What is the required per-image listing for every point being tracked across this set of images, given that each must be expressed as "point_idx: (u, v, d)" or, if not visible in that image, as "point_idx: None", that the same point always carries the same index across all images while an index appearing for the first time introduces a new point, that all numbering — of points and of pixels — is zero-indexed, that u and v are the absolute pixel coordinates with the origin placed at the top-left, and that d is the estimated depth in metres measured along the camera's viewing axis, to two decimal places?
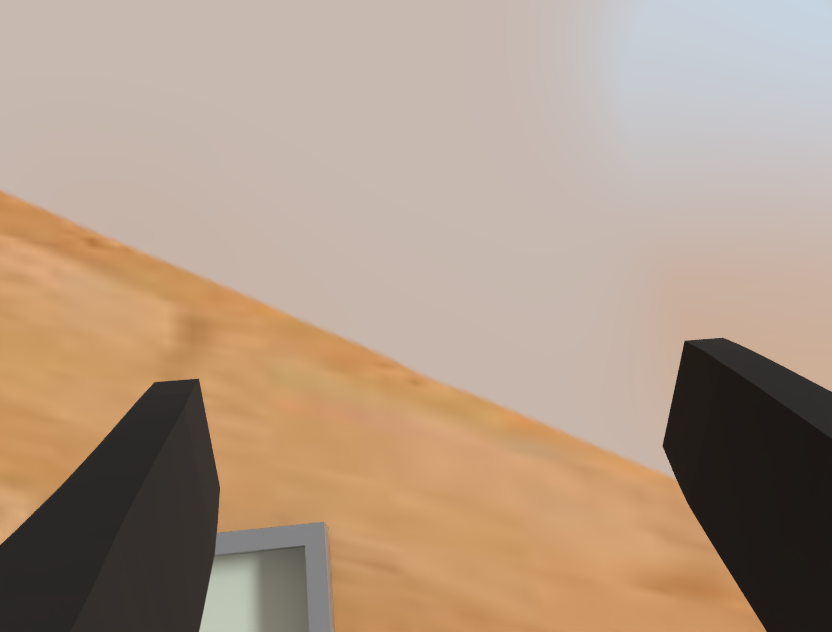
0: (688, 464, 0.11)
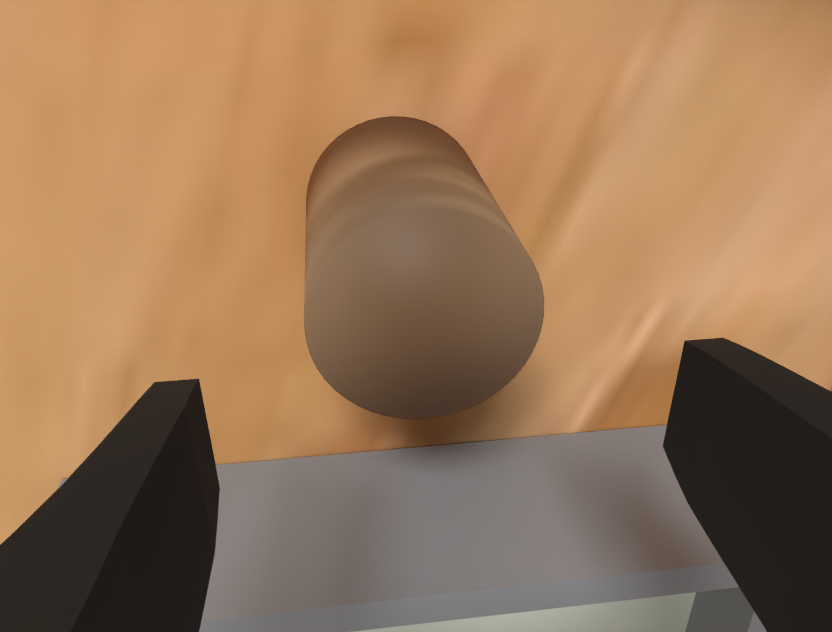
0: (688, 464, 0.11)
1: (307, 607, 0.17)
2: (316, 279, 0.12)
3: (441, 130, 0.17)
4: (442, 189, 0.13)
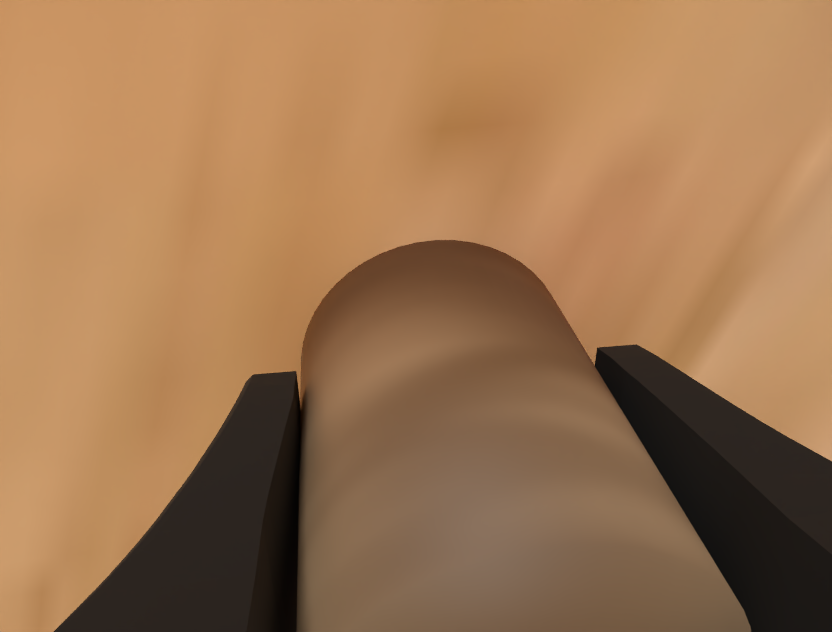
0: None
1: None
2: None
3: (512, 259, 0.11)
4: (561, 457, 0.07)
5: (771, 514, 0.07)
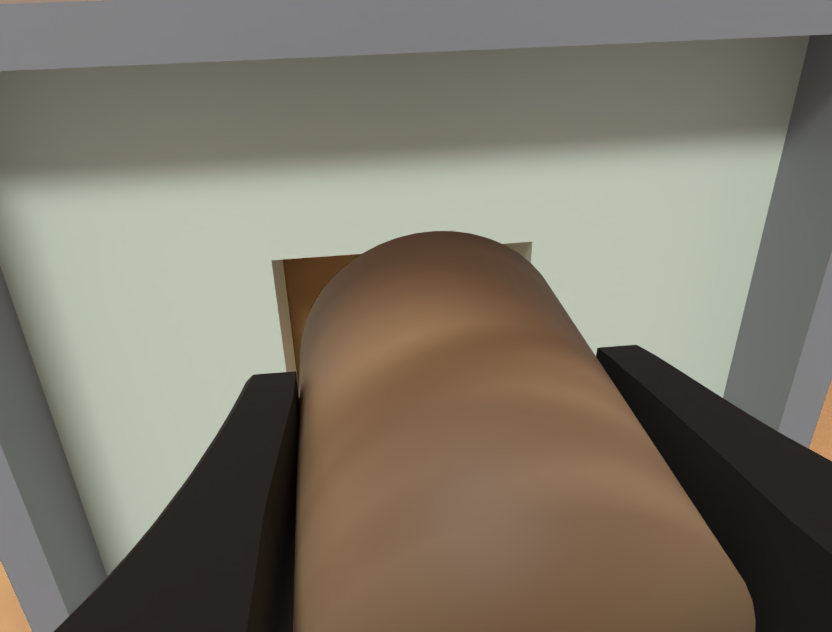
0: None
1: None
2: None
3: (510, 250, 0.11)
4: (560, 430, 0.07)
5: (771, 512, 0.07)
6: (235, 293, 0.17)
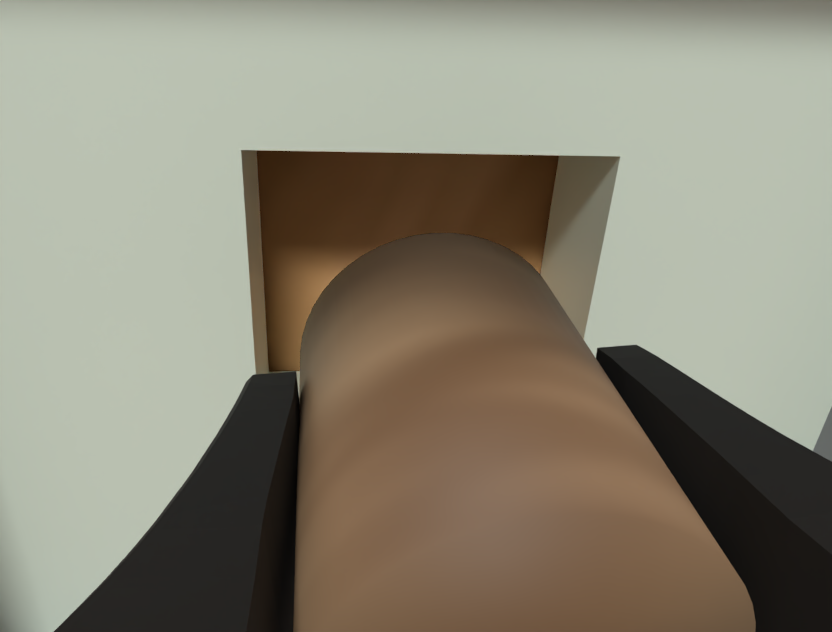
0: None
1: None
2: None
3: (510, 252, 0.11)
4: (560, 433, 0.07)
5: (771, 513, 0.07)
6: (185, 198, 0.12)
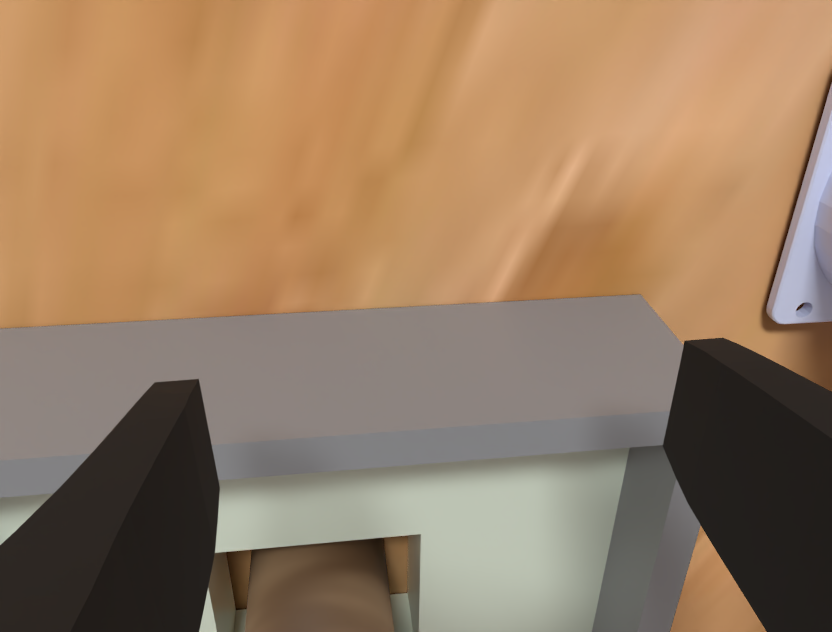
0: (688, 464, 0.11)
1: None
2: None
3: None
4: (327, 619, 0.19)
5: None
6: None
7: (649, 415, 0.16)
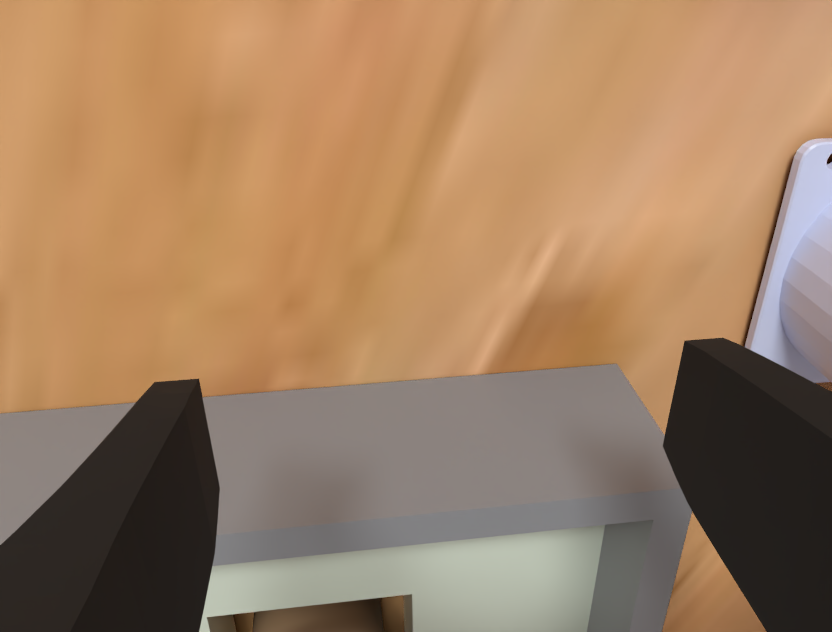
0: (688, 464, 0.11)
1: None
2: None
3: None
4: None
5: None
6: None
7: (618, 496, 0.18)
